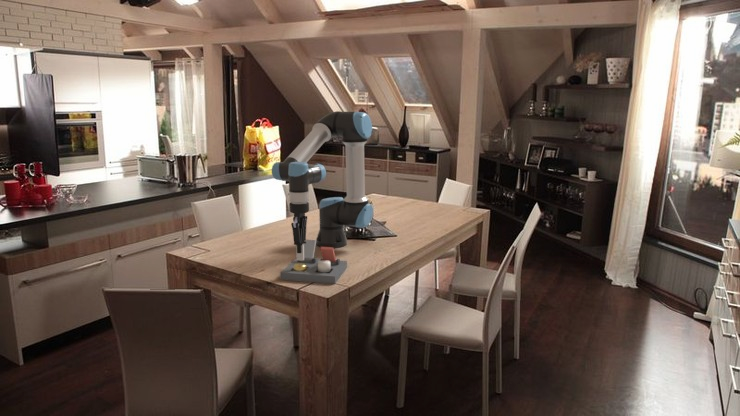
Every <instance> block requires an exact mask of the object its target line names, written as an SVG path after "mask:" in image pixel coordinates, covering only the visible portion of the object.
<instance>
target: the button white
mask: <svg viewBox="0 0 740 416" xmlns="http://www.w3.org/2000/svg"><path fill="white" fill-rule="evenodd" d="M318 271H319V272H323V273H325V272H330V271H331V262H330V261H328V260H321V261H318Z"/></svg>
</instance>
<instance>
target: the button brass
mask: <svg viewBox="0 0 740 416" xmlns="http://www.w3.org/2000/svg"><path fill="white" fill-rule="evenodd" d="M294 271H304V272H305V271H306V264H304V263H297V264H294Z"/></svg>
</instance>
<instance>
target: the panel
mask: <svg viewBox="0 0 740 416" xmlns="http://www.w3.org/2000/svg"><path fill="white" fill-rule="evenodd" d="M321 260H323V257H321V258H317V257H316V256H314V258H313V262H305V261H300V260H297V257H295V259H293V260H292V261H291V262H290V263H288V265H287V266H286V267H285V268H284V269H282V270H281V271H280V281H294V282H306V283H307V282H308V283H315V284H316V283H319V284H333V285H335V284H337V282H339V279H340V278H341V277H342V276H343V274H344V273H345V271H346V270H347V268H348V260H340V258H337V259H336V264H333V263H331V271H330V272H325V273H323V272H319V271H318V261H321ZM297 263H304V264H306V271H305V272H304V271H294V264H297Z"/></svg>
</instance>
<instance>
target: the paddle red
mask: <svg viewBox="0 0 740 416" xmlns="http://www.w3.org/2000/svg"><path fill="white" fill-rule="evenodd" d="M320 251H321V256H322V258H323V260H328V261H330V262H331V263H333V264H336V260H337V259H336V258H337V257H336V253H335V248H333V247H320Z"/></svg>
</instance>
